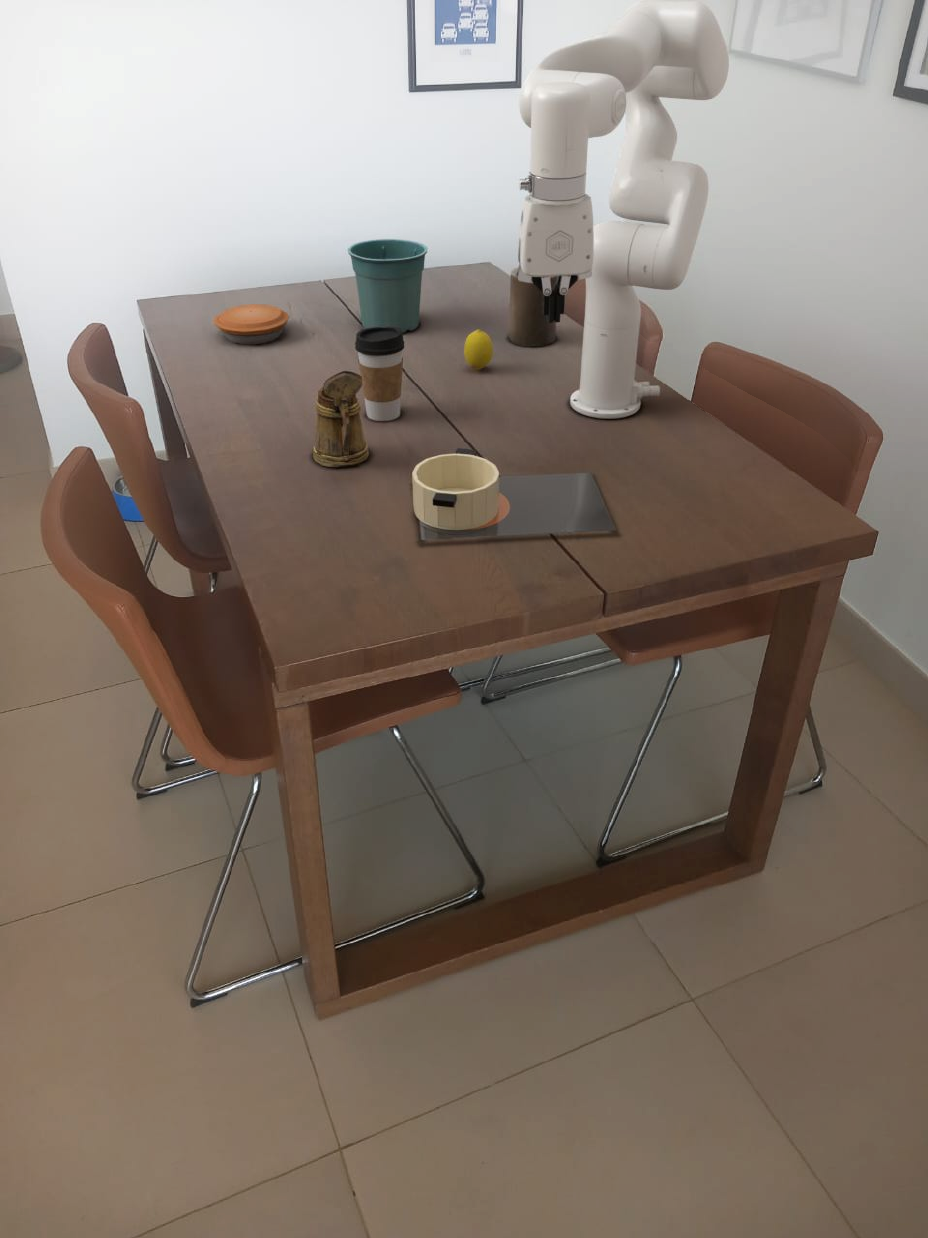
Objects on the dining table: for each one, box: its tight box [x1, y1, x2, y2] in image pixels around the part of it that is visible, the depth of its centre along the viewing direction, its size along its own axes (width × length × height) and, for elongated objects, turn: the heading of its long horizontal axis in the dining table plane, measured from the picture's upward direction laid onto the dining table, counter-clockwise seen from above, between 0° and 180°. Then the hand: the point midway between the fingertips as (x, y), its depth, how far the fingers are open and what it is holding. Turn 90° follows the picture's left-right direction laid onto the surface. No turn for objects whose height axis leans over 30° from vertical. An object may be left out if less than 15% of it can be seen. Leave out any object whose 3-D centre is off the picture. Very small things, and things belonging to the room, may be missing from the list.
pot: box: [411, 447, 500, 530], centre depth 146 cm, size 12×16×6 cm
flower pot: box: [347, 238, 428, 334], centre depth 210 cm, size 16×16×16 cm
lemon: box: [463, 329, 494, 371], centre depth 192 cm, size 6×6×8 cm
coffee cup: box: [354, 327, 405, 422], centre depth 173 cm, size 8×8×15 cm
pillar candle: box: [508, 267, 558, 347], centre depth 203 cm, size 10×10×15 cm
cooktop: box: [418, 471, 617, 541], centre depth 149 cm, size 28×18×1 cm, turn 95°
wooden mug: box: [312, 370, 370, 469], centre depth 157 cm, size 9×14×18 cm, turn 17°
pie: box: [213, 303, 290, 345], centre depth 208 cm, size 15×16×5 cm
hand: (552, 318), depth 145 cm, fingers closed
